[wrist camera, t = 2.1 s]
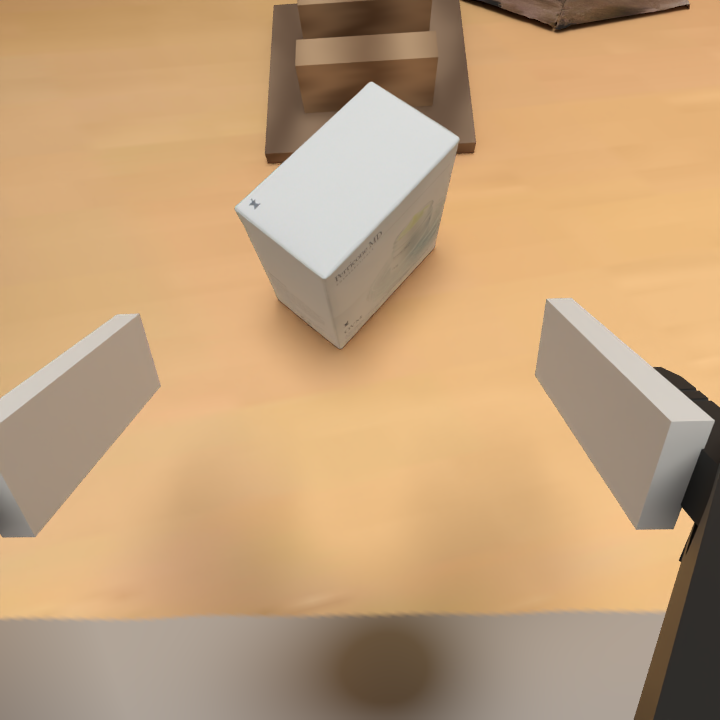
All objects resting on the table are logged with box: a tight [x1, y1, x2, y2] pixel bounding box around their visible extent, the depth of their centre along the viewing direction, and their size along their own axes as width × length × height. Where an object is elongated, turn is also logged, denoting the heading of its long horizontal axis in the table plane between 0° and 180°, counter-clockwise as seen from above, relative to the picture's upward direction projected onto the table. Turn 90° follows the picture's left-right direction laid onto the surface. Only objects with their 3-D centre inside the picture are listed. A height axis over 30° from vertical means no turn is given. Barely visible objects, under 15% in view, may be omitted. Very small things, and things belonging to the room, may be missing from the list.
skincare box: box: [235, 82, 460, 349], centre depth 27 cm, size 10×6×10 cm, turn 139°
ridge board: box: [265, 0, 476, 163], centre depth 35 cm, size 16×16×5 cm
